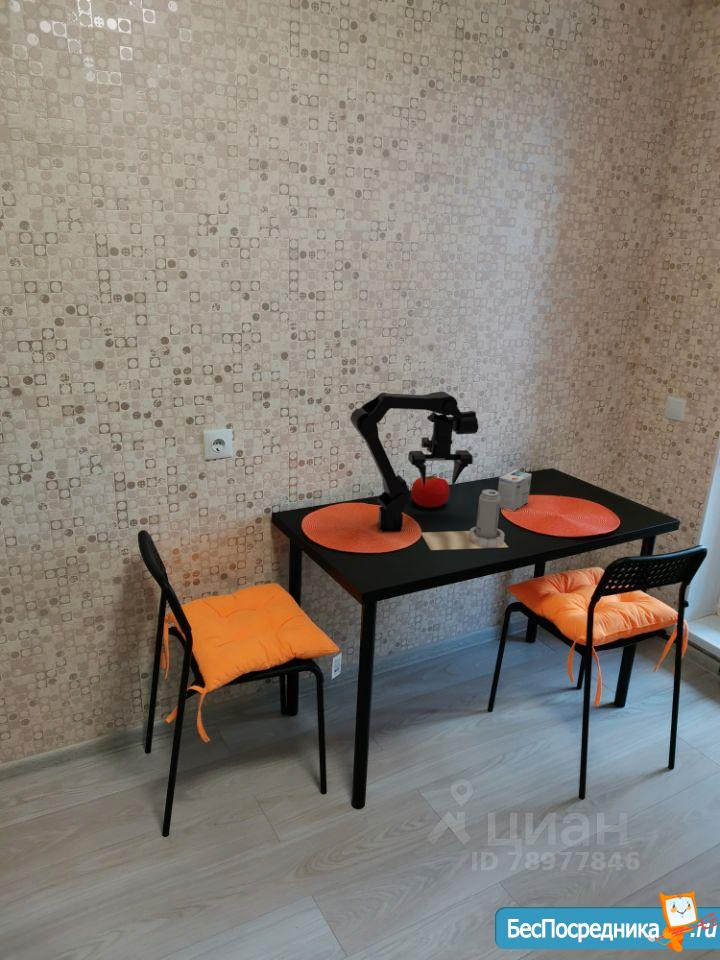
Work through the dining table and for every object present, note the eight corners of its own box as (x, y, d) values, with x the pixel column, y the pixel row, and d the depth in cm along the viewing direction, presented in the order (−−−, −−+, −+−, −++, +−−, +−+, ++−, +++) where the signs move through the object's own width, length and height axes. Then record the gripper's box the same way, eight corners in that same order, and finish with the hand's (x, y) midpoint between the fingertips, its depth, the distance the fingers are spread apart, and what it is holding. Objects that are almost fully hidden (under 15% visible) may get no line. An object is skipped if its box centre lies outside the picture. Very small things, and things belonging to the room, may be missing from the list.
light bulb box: (510, 498, 251) (514, 468, 247) (528, 503, 247) (532, 473, 243) (495, 507, 243) (498, 476, 240) (513, 512, 239) (517, 481, 236)
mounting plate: (430, 553, 207) (430, 550, 207) (420, 536, 219) (420, 532, 218) (508, 550, 211) (508, 547, 211) (494, 533, 222) (494, 530, 222)
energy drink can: (475, 535, 218) (480, 487, 213) (495, 537, 217) (501, 489, 212) (474, 543, 212) (479, 495, 207) (495, 545, 212) (501, 497, 206)
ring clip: (475, 548, 209) (476, 540, 209) (465, 534, 218) (465, 526, 218) (508, 547, 211) (509, 539, 210) (496, 533, 220) (497, 525, 219)
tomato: (452, 511, 238) (454, 482, 234) (413, 512, 236) (415, 482, 233) (443, 498, 248) (446, 470, 245) (407, 499, 247) (408, 470, 243)
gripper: (464, 427, 227) (460, 474, 233) (405, 427, 224) (402, 475, 230) (475, 437, 217) (470, 487, 222) (414, 438, 214) (410, 488, 219)
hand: (438, 484), depth 224 cm, fingers open, 9 cm apart
